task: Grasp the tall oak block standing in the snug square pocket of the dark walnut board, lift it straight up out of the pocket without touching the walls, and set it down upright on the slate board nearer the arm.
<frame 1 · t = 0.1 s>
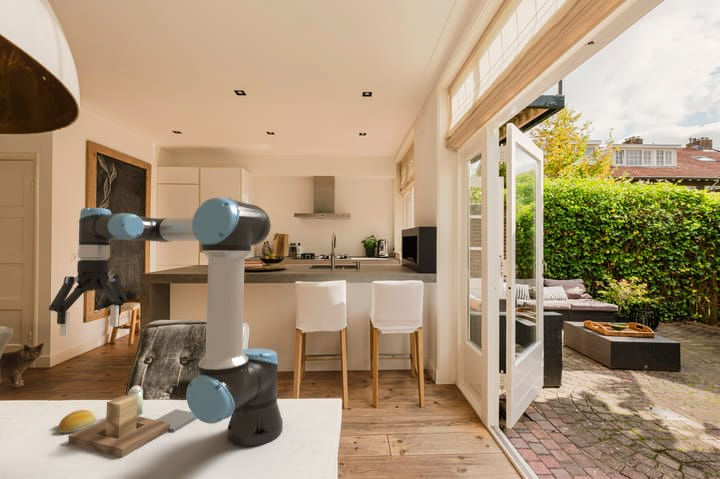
hand: (90, 330, 101), 28 cm above the table, fingers open, 13 cm apart
slate board: (175, 421, 102), on the table
sage shaker: (134, 414, 107), on the table
oak block: (121, 418, 94), in the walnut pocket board
bread roll: (76, 427, 99), on the table
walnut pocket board: (120, 436, 94), on the table
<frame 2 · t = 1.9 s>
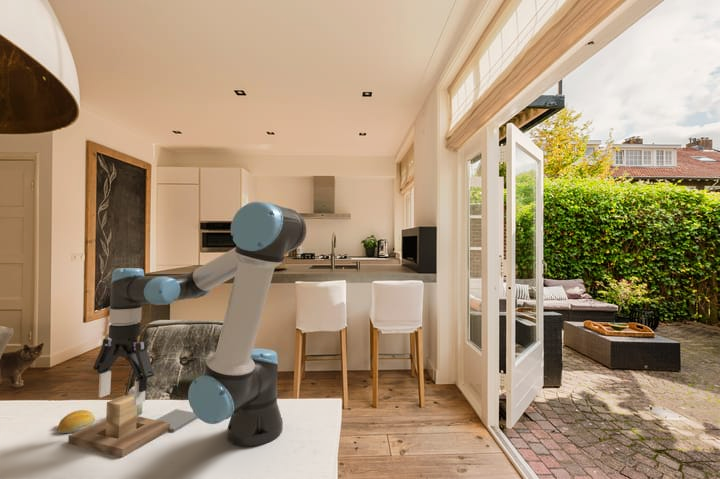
hand: (121, 399, 94), 10 cm above the table, fingers open, 13 cm apart
nothing on the table moved.
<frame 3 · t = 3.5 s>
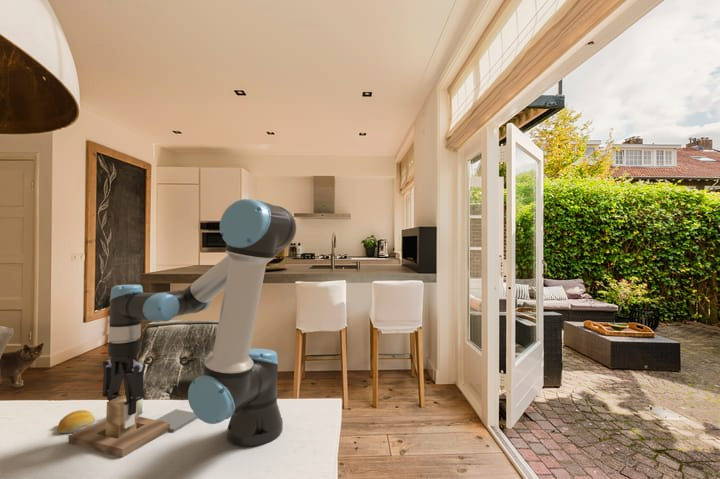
hand: (121, 424, 94), 3 cm above the table, fingers closed on oak block, 5 cm apart
oak block: (121, 418, 94), in the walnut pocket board, touching gripper
everything else where it was.
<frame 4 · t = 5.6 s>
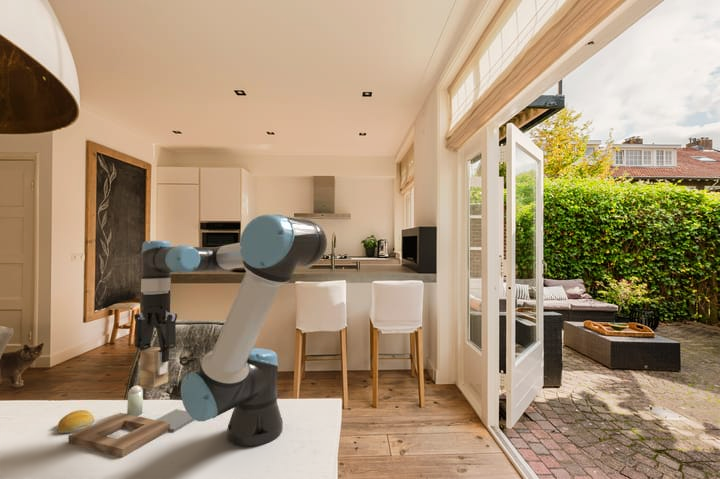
hand: (154, 372, 99), 16 cm above the table, fingers closed on oak block, 5 cm apart
oak block: (154, 366, 99), point 18 cm above the table, touching gripper
everything else where it was.
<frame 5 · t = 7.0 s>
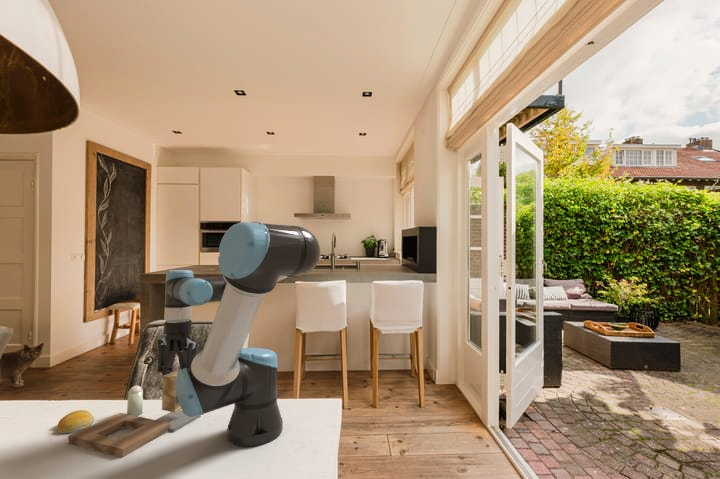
hand: (175, 396, 103), 7 cm above the table, fingers closed on oak block, 5 cm apart
oak block: (175, 390, 103), point 9 cm above the table, touching gripper
everything else where it was.
when the fingers open (5 cm above the table, at t = 7.9 s): oak block drops 1 cm, resting on slate board.
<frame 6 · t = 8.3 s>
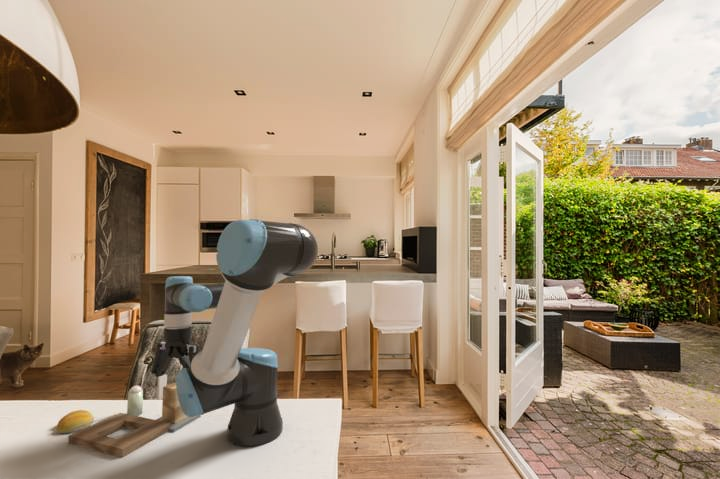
hand: (175, 399, 103), 6 cm above the table, fingers open, 10 cm apart
oak block: (175, 401, 103), on the slate board, point 6 cm above the table
everything else where it was.
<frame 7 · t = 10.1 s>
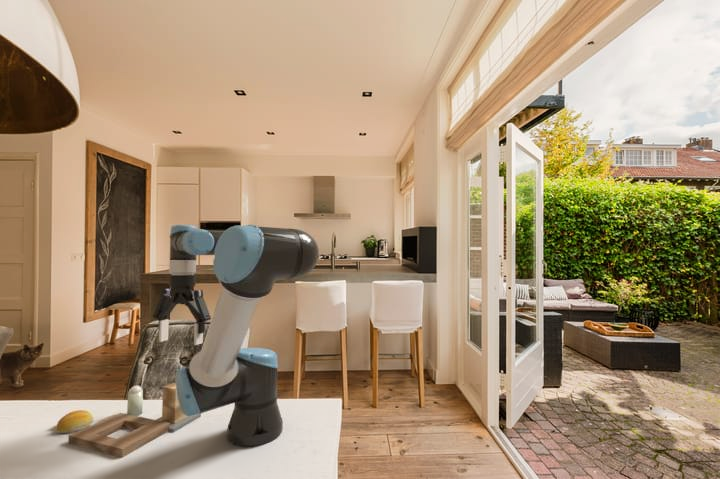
hand: (180, 342, 105), 23 cm above the table, fingers open, 13 cm apart
nothing on the table moved.
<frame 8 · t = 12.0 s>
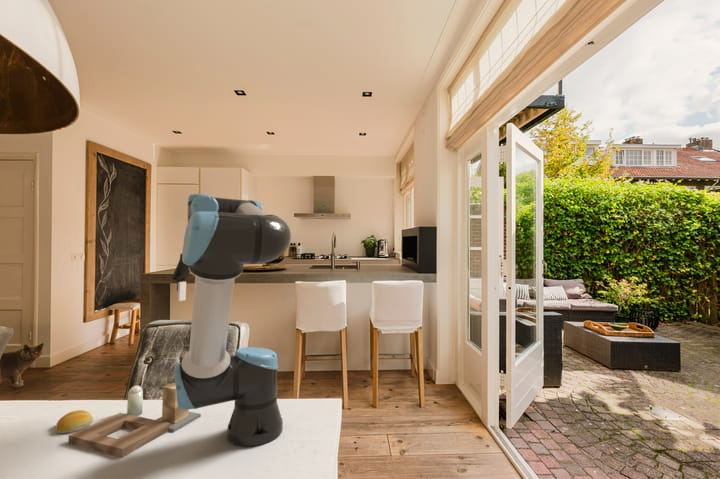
hand: (197, 301, 115), 35 cm above the table, fingers open, 13 cm apart
nothing on the table moved.
at the end: oak block inside the target area on the slate board (0.1 cm from its centre), point 5.8 cm above the slate board's base; oak block tilted 0°; oak block touching slate board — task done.
